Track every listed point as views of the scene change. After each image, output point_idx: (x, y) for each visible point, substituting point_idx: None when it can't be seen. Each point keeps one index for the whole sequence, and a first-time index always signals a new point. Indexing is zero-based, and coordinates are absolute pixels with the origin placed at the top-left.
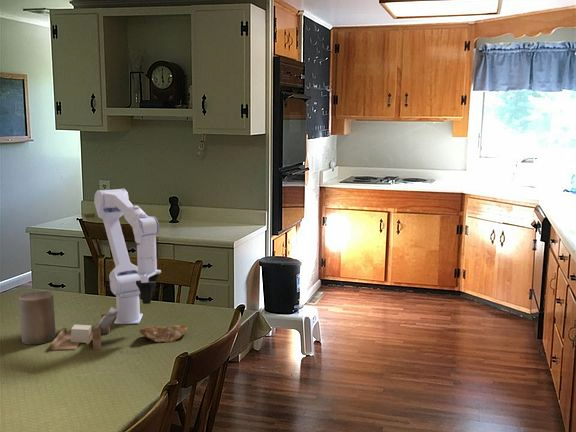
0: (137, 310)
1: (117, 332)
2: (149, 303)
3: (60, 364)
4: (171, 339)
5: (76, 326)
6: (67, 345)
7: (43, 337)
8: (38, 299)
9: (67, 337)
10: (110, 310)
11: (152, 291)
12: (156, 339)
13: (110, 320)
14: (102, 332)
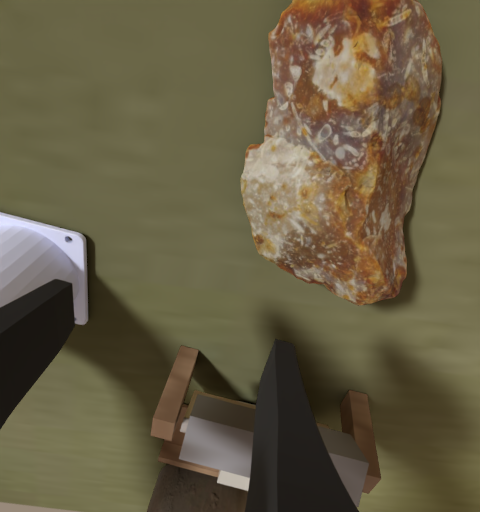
0: (15, 265)
1: (189, 323)
2: (293, 349)
3: (447, 483)
4: (433, 112)
5: (238, 480)
6: None
7: (243, 504)
8: None
9: None
10: (240, 469)
11: (39, 320)
12: (406, 203)
13: (366, 473)
14: (193, 370)
